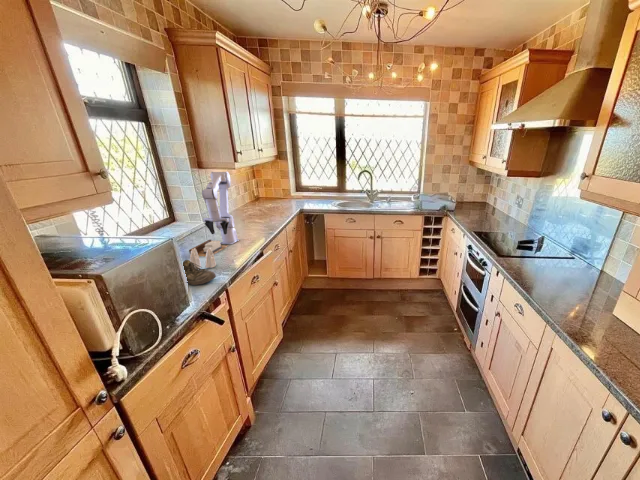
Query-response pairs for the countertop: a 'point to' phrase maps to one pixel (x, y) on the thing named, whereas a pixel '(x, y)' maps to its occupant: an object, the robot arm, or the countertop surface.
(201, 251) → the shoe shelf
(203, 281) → the hiking shoe
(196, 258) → the shaker set
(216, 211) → the robot arm
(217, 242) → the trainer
